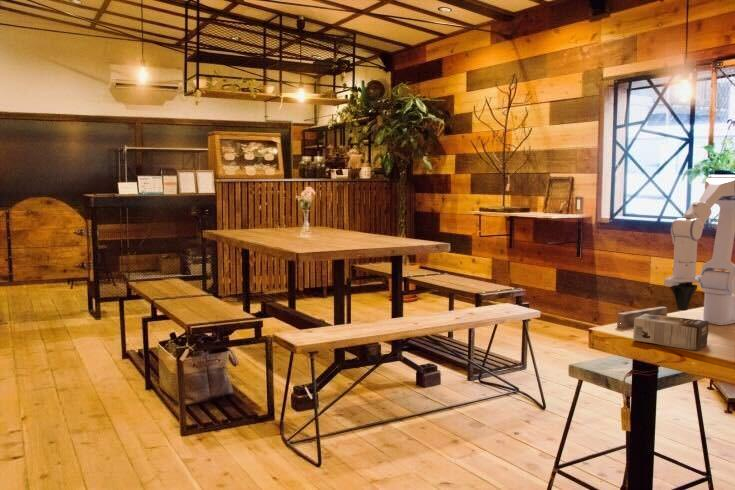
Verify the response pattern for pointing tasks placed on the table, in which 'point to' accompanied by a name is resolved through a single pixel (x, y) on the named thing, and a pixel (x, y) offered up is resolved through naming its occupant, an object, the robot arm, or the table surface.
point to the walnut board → (628, 317)
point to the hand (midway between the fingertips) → (682, 309)
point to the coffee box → (671, 331)
